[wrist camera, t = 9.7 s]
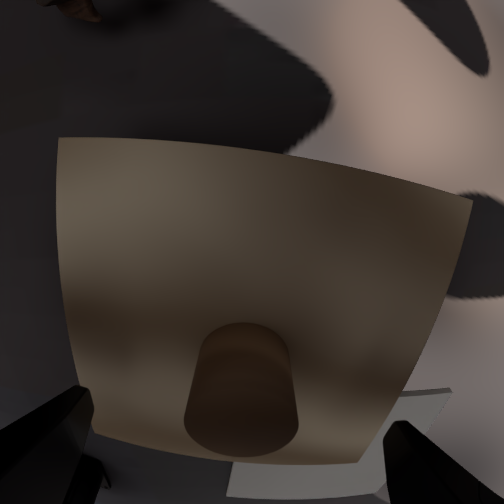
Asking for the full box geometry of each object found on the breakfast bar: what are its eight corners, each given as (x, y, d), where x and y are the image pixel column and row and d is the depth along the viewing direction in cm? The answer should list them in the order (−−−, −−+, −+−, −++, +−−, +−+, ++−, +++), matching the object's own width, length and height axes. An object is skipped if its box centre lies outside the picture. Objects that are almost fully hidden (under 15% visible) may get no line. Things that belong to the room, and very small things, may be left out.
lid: (350, 436, 15) (369, 509, 10) (106, 407, 15) (74, 477, 10) (444, 190, 11) (535, 224, 6) (87, 137, 10) (-8, 142, 5)
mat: (374, 488, 24) (375, 492, 24) (226, 491, 24) (226, 496, 23) (449, 387, 19) (452, 392, 19) (248, 386, 19) (248, 392, 18)
